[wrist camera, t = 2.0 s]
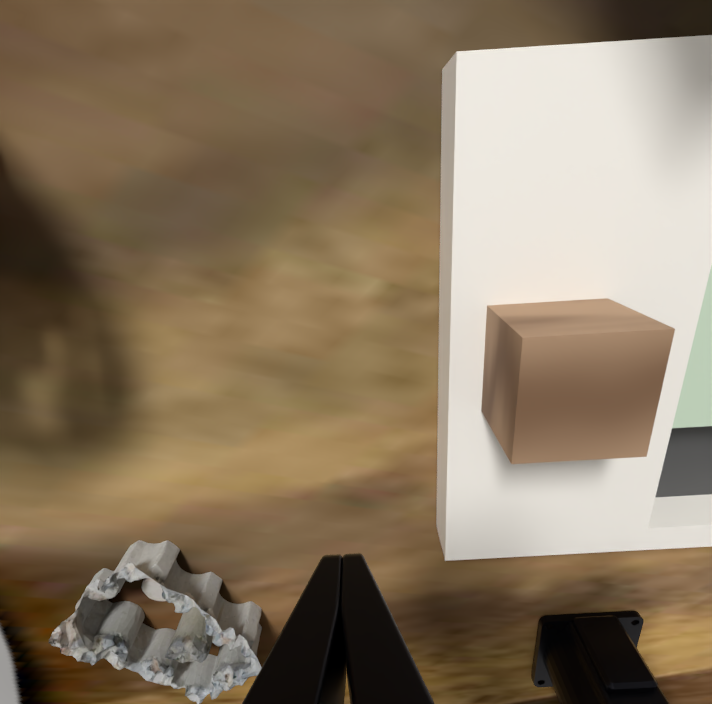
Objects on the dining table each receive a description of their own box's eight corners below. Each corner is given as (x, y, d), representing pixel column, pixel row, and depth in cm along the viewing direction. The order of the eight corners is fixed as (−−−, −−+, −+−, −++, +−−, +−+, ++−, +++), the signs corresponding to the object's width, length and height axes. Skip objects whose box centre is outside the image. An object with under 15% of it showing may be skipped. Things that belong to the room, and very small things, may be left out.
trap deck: (744, 509, 25) (784, 542, 23) (436, 526, 25) (445, 560, 23) (904, 39, 17) (993, 16, 15) (442, 69, 17) (456, 51, 15)
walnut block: (590, 404, 20) (646, 456, 16) (481, 411, 20) (511, 464, 16) (607, 298, 18) (675, 328, 14) (486, 305, 18) (522, 337, 14)
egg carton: (79, 576, 27) (34, 640, 23) (162, 517, 25) (128, 576, 22) (201, 665, 30) (179, 735, 26) (282, 618, 28) (271, 685, 25)
